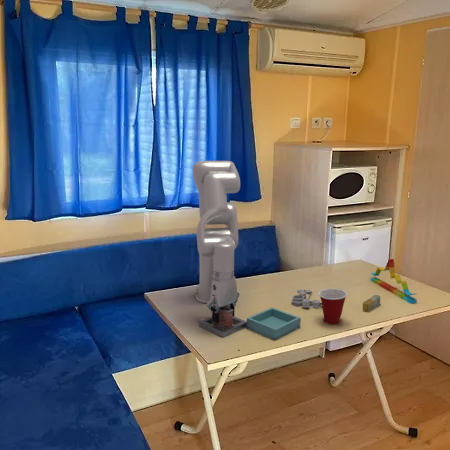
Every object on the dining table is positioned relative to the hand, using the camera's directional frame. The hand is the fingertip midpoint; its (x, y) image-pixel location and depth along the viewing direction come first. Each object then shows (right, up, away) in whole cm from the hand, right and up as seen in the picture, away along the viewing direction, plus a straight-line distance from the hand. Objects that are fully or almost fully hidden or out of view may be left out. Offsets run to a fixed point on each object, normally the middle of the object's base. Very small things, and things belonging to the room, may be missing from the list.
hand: (223, 318), depth 182 cm
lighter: (0, -4, +1) cm, 4 cm away
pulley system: (+37, +1, +25) cm, 44 cm away
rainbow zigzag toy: (+78, +4, +40) cm, 87 cm away
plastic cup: (+42, -3, +7) cm, 43 cm away
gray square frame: (0, -3, +1) cm, 3 cm away
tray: (+19, -4, 0) cm, 19 cm away
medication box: (+62, 0, +20) cm, 66 cm away
